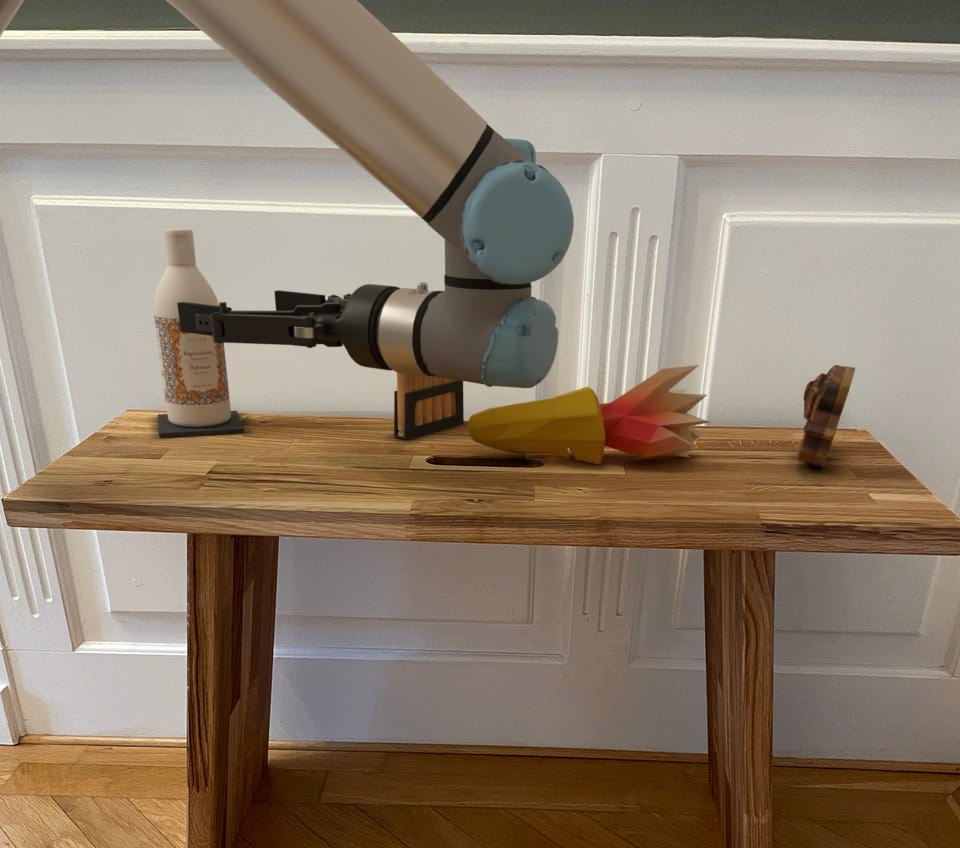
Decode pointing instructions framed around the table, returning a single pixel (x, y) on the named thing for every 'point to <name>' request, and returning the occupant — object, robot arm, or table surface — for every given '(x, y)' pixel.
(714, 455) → the table surface
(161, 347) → the bath foam
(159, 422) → the mat
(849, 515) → the table surface
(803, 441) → the wooden carving
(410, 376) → the ammunition clip
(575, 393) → the torch
